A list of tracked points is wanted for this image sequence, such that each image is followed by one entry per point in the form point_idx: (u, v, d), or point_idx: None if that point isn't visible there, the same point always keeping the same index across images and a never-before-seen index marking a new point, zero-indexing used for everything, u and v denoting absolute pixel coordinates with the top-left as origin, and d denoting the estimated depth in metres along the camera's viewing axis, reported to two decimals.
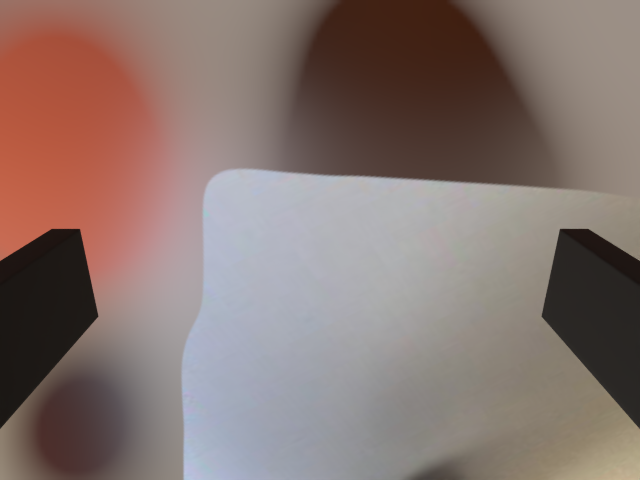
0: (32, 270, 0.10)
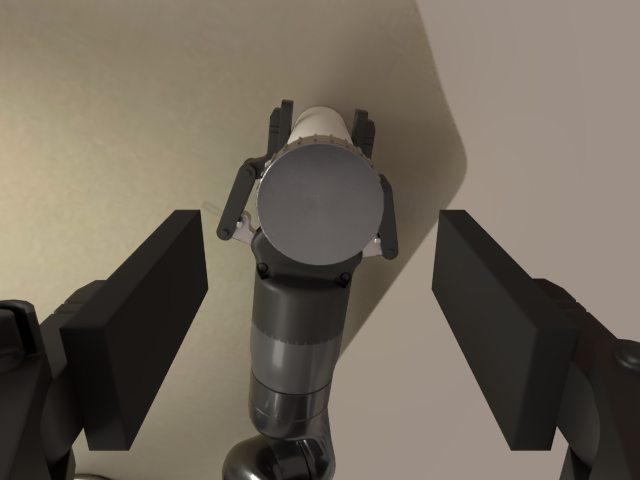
0: (179, 242, 0.12)
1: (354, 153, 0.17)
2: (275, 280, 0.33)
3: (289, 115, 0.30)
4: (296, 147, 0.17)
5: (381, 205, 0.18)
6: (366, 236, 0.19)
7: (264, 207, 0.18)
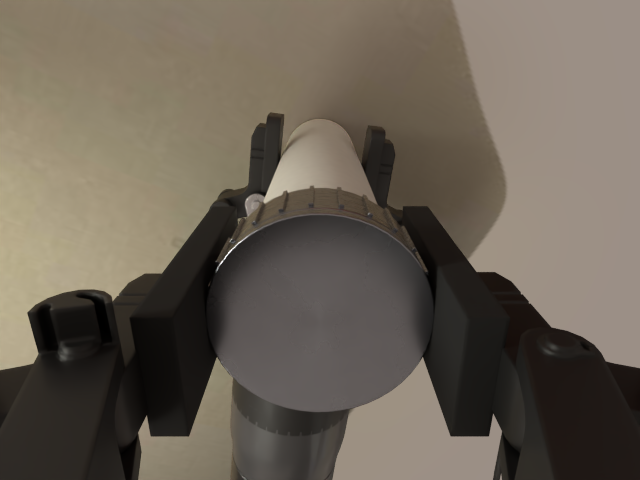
0: (222, 238, 0.12)
1: (383, 231, 0.09)
2: None
3: (277, 135, 0.21)
4: (275, 220, 0.09)
5: (429, 319, 0.10)
6: (401, 368, 0.11)
7: (220, 322, 0.10)
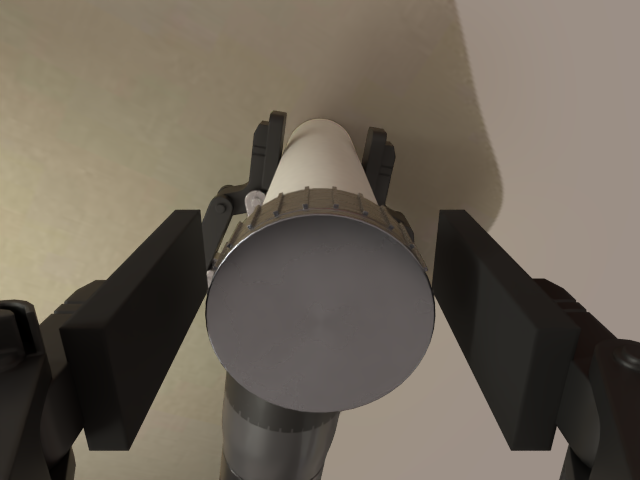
0: (179, 242, 0.12)
1: (219, 267, 0.10)
2: None
3: (280, 133, 0.22)
4: (216, 354, 0.11)
5: (318, 218, 0.09)
6: (381, 244, 0.09)
7: (318, 402, 0.11)
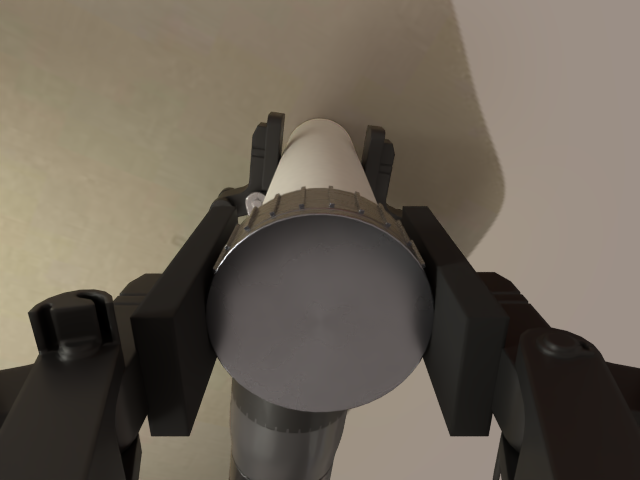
0: (223, 238, 0.12)
1: (217, 270, 0.10)
2: None
3: (278, 134, 0.22)
4: (218, 356, 0.11)
5: (314, 217, 0.09)
6: (378, 242, 0.09)
7: (321, 402, 0.11)
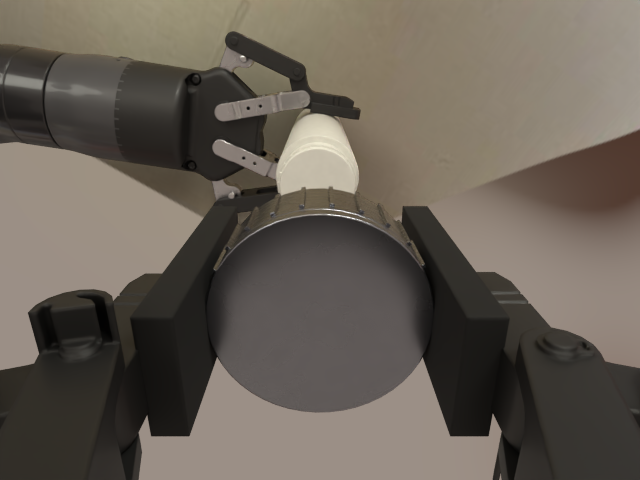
0: (222, 237, 0.12)
1: (218, 270, 0.10)
2: (186, 95, 0.31)
3: (348, 117, 0.33)
4: (218, 356, 0.11)
5: (314, 218, 0.09)
6: (378, 243, 0.09)
7: (321, 402, 0.11)
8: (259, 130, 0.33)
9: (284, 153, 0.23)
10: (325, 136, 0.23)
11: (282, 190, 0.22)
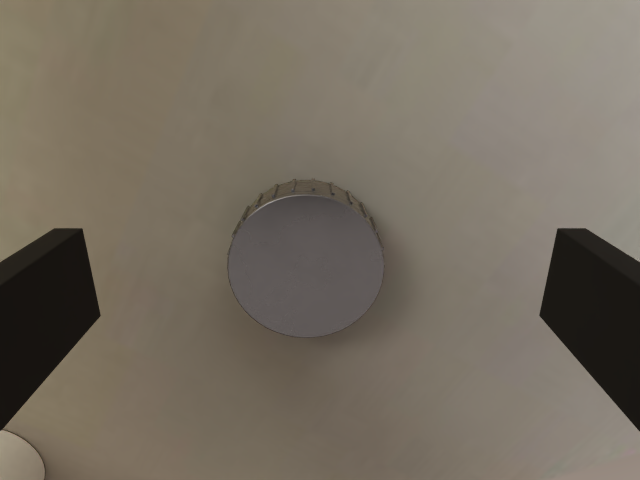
0: (35, 270, 0.10)
1: (236, 233, 0.14)
2: None
3: None
4: (235, 296, 0.15)
5: (301, 197, 0.14)
6: (344, 213, 0.14)
7: (307, 329, 0.16)
8: None
9: None
10: None
11: None
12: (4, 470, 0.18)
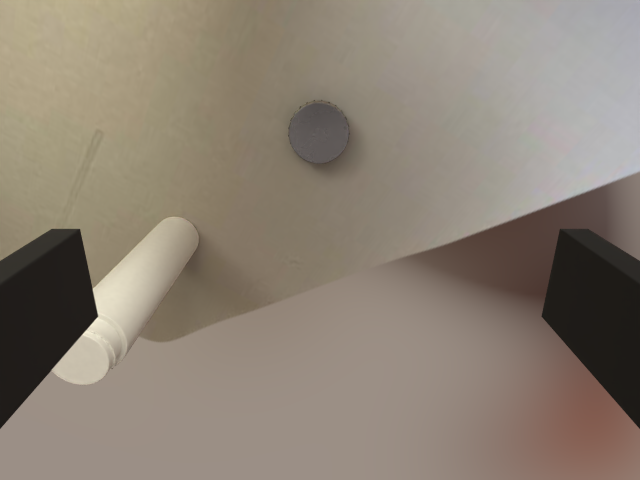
0: (32, 271, 0.10)
1: (293, 118, 0.38)
2: None
3: None
4: (291, 144, 0.39)
5: (317, 103, 0.38)
6: (333, 110, 0.38)
7: (319, 159, 0.40)
8: None
9: None
10: None
11: None
12: (188, 230, 0.43)
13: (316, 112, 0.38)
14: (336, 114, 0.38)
